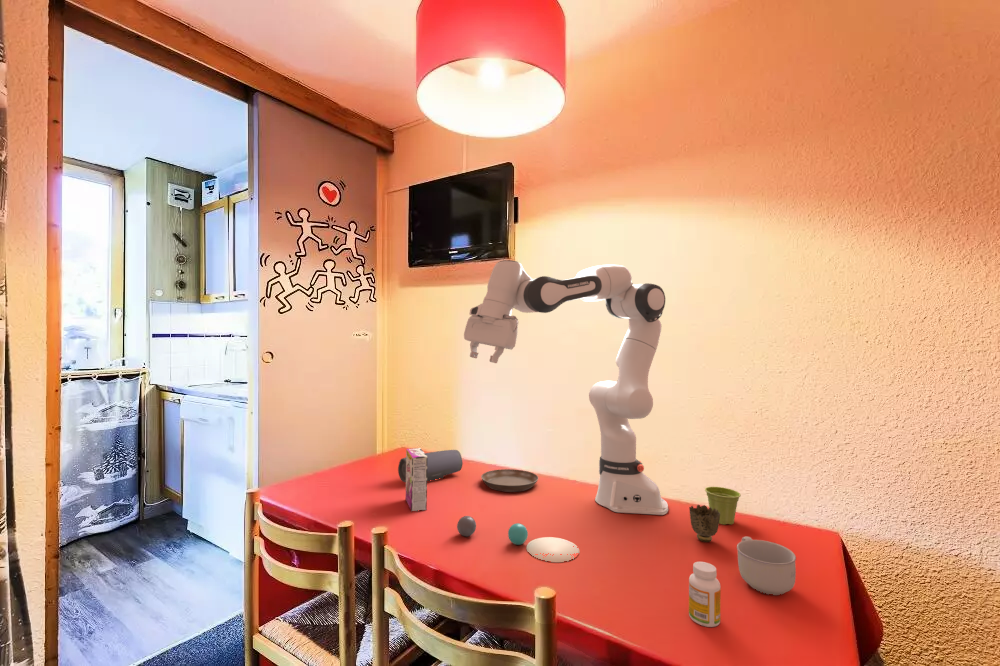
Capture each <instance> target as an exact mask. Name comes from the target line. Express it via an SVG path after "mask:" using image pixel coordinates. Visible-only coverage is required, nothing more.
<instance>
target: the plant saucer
mask: <svg viewBox="0 0 1000 666" xmlns="http://www.w3.org/2000/svg"><path fill="white" fill-rule="evenodd" d="M480 477H481V480H482V481H483V483H484V485H486V486H487V487H488V488H490V489H492V490H495V491H499V492H503V493H505V492H507V493H516V492H517V493H518V492H525V491H528V490H530V489H531V488H532V487H534V486H535V485H536V484H537V482H538V481H539V476H538V475H537V474H536V473H534V472H531V471H527V470H522V469H512V468H511V469H510V468H508V469H507V468H506V469H503V468H502V469H494V470H490V471H489V470H488V471H486V472H484V473H482V474H481V476H480Z"/></svg>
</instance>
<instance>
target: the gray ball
mask: <svg viewBox="0 0 1000 666" xmlns="http://www.w3.org/2000/svg"><path fill="white" fill-rule="evenodd" d="M476 528H477V523H476V520H475V519H474V518H473V517H472V516H470V515H464V516H462V517H461V518H459V519H458V521H457V524H456V529H457V532H458V534H459V535H461V536H462V537H464V538H465V537H470V536H472V535H473V534H474V533H475V531H476V530H477V529H476Z"/></svg>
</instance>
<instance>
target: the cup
mask: <svg viewBox="0 0 1000 666" xmlns="http://www.w3.org/2000/svg"><path fill="white" fill-rule="evenodd" d="M688 507H689V508H688V509H689V518H690V525H691V528H692V530H693V531H694V532H695V534H696V538H697V540H699V541H700V542H702V543H710V542H712V541H713V536H715V535H716V534H717V533H718V529H719V526H720V525H719V519H720V512H718V510H717V511H716V509H713V511H712V508H711V507H710V508H709V507H708V506H706V505H705V504H704V505H700V504H697V505H696V507H694V505H691V506H688Z"/></svg>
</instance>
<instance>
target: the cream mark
mask: <svg viewBox="0 0 1000 666" xmlns="http://www.w3.org/2000/svg"><path fill="white" fill-rule="evenodd" d="M573 546H574V547H573ZM577 547H578V546H577V545H576V544H575V543H574V542H572V541H569V540H567V539H564V538H560V537H552V536H544V537H543V536H542V537H538V538H535V539H532V540H531V541H529V542H528V543H527V545H526V551H527V553H528V552H529V553H530V554H531V555H532V556H531V555H530V554H529V553H528V554H529V555H530V556H531V557H533V556H534V557H533V558H535V557H536V558H535V559H537V558H538V559H537V560H539V559H541V560H540V561H542V560H545V561H544V562H547V561H551V562H550V563H565V562H564V561H567V562H570V561H569V560H571V559H572V558H573V560H575V559H574V556H573V555H572V554H574V553H575V554H576V553H579V554H580V549H579V547H578V548H577ZM540 553H541V554H540ZM543 553H544V554H543ZM548 553H549V554H548ZM535 554H538V555H535ZM542 554H543V555H545V554H548V555H547V556H546V555H545V556H546V557H545V556H543V555H542ZM550 554H551V555H550ZM553 554H554V555H553ZM560 554H562V555H560ZM567 554H568V555H567ZM570 554H571V555H572V556H573V557H572V556H571V555H570ZM552 555H553V556H552ZM543 557H544V558H543ZM571 557H572V558H571ZM571 561H572V560H571Z"/></svg>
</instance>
